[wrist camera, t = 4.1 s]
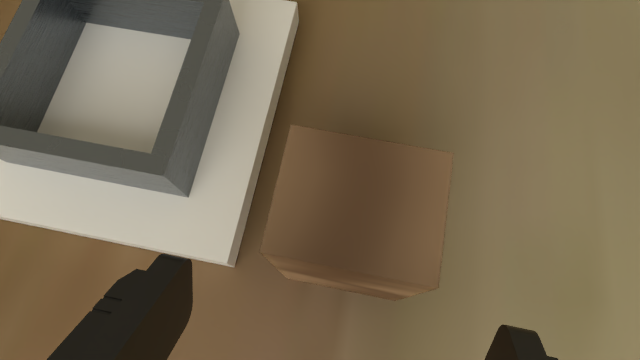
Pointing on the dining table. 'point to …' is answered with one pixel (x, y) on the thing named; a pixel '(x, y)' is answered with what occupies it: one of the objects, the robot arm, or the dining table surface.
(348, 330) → the dining table surface
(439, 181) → the walnut block
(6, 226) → the dining table surface
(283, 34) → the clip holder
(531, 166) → the dining table surface
